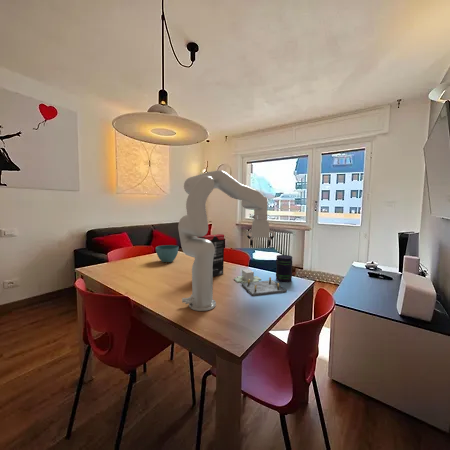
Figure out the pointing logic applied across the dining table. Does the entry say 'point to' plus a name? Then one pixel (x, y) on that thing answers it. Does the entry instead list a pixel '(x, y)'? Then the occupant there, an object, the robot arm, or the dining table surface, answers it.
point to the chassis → (263, 287)
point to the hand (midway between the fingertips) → (260, 246)
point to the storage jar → (284, 268)
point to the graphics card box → (217, 252)
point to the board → (239, 279)
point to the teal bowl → (167, 252)
